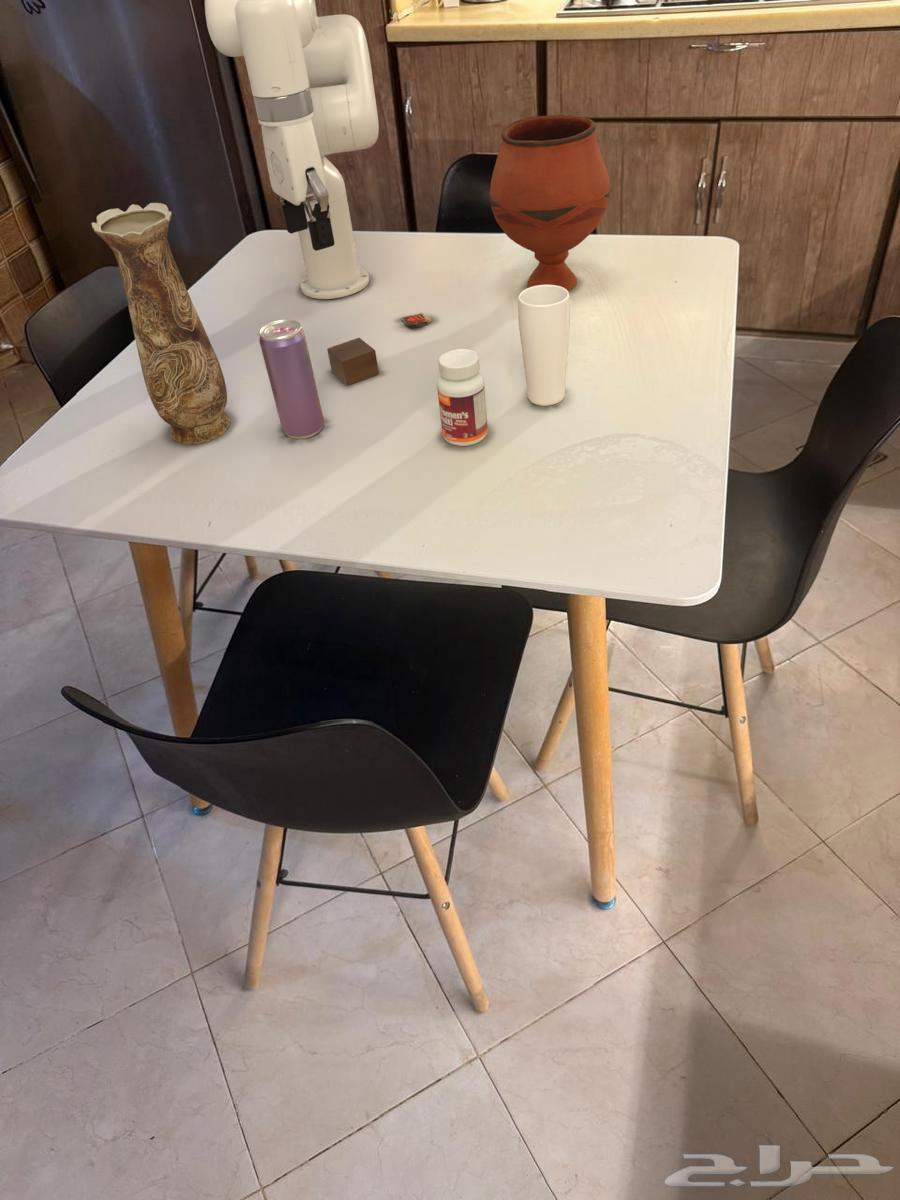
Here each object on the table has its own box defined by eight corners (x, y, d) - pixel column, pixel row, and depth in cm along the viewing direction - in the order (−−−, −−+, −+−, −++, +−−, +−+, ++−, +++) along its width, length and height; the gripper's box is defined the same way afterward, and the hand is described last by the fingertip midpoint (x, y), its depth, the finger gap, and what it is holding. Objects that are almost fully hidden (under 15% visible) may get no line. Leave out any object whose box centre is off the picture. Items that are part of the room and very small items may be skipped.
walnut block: (331, 372, 134) (326, 348, 132) (363, 361, 136) (359, 337, 133) (347, 386, 131) (342, 361, 128) (379, 374, 132) (375, 349, 130)
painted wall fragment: (412, 330, 142) (412, 327, 142) (396, 320, 145) (396, 317, 145) (436, 321, 144) (436, 318, 143) (420, 312, 147) (420, 309, 147)
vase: (229, 403, 130) (166, 193, 110) (243, 436, 123) (178, 218, 103) (160, 421, 128) (83, 211, 108) (170, 456, 121) (89, 238, 100)
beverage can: (317, 441, 120) (294, 339, 110) (277, 440, 121) (250, 339, 111) (330, 418, 124) (308, 318, 114) (291, 417, 125) (266, 318, 115)
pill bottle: (435, 443, 116) (425, 366, 109) (454, 420, 120) (446, 344, 113) (477, 450, 114) (470, 372, 107) (495, 426, 118) (489, 349, 111)
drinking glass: (574, 387, 124) (574, 284, 114) (565, 411, 119) (565, 306, 109) (527, 384, 126) (523, 283, 116) (517, 409, 121) (512, 305, 111)
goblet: (495, 267, 158) (486, 115, 142) (602, 258, 157) (605, 103, 140) (495, 312, 144) (485, 150, 128) (612, 303, 143) (617, 137, 126)
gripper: (235, 102, 120) (265, 230, 131) (283, 124, 108) (311, 263, 119) (285, 90, 122) (310, 217, 134) (337, 111, 110) (359, 248, 122)
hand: (310, 238), depth 126 cm, fingers open, 8 cm apart
